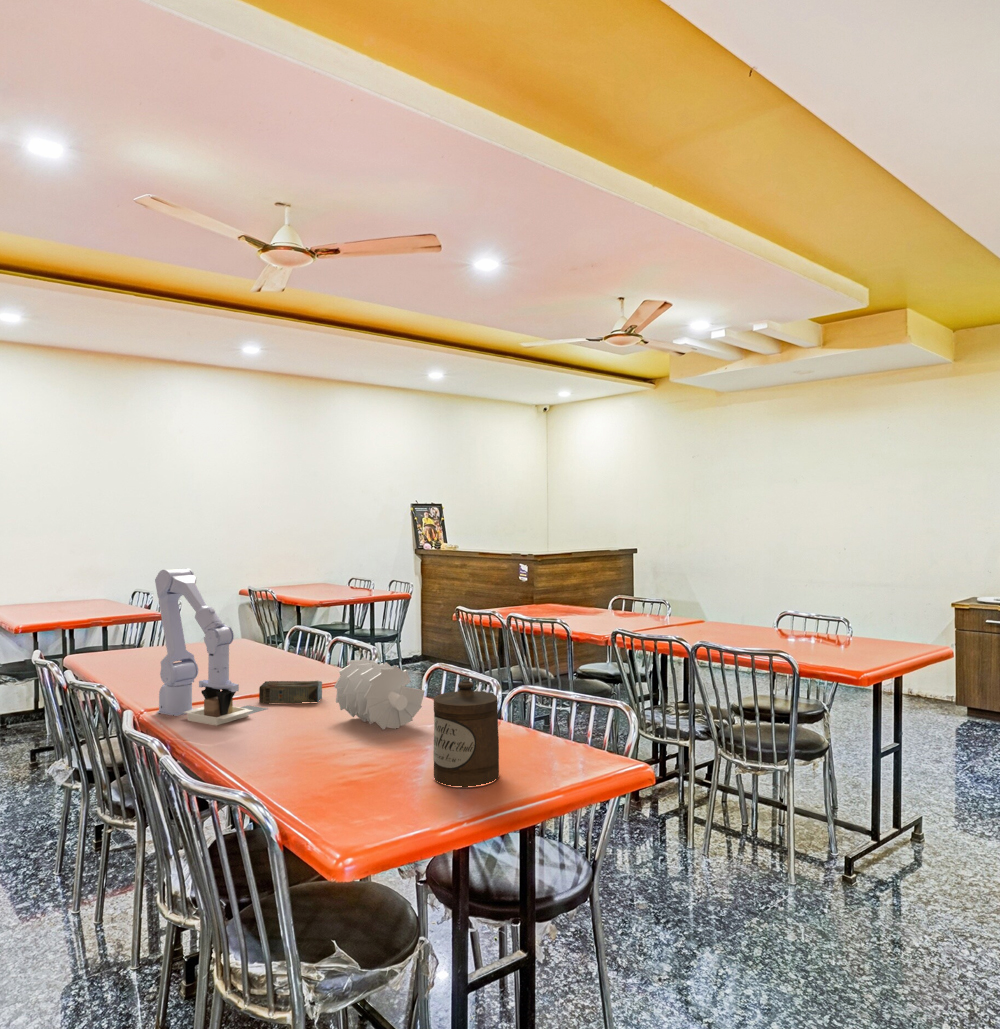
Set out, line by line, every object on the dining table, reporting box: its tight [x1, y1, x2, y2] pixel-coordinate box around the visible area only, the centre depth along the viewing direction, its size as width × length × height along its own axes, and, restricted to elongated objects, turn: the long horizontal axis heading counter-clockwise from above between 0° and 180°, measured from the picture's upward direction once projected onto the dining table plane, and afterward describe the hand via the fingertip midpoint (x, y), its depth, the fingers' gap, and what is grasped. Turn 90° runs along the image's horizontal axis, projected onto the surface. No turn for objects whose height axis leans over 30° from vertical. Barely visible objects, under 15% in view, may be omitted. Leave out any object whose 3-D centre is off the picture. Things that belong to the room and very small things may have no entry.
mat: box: [239, 705, 269, 715], centre depth 230 cm, size 9×9×1 cm
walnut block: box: [203, 696, 234, 717], centre depth 220 cm, size 7×4×6 cm, turn 152°
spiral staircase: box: [333, 656, 426, 731], centre depth 216 cm, size 18×18×25 cm
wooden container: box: [432, 679, 500, 787], centre depth 169 cm, size 15×15×22 cm
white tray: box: [183, 706, 253, 726], centre depth 220 cm, size 17×12×2 cm
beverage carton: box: [258, 680, 323, 705], centre depth 243 cm, size 8×19×7 cm, turn 94°
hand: (218, 713), depth 220 cm, fingers closed on walnut block, 4 cm apart
